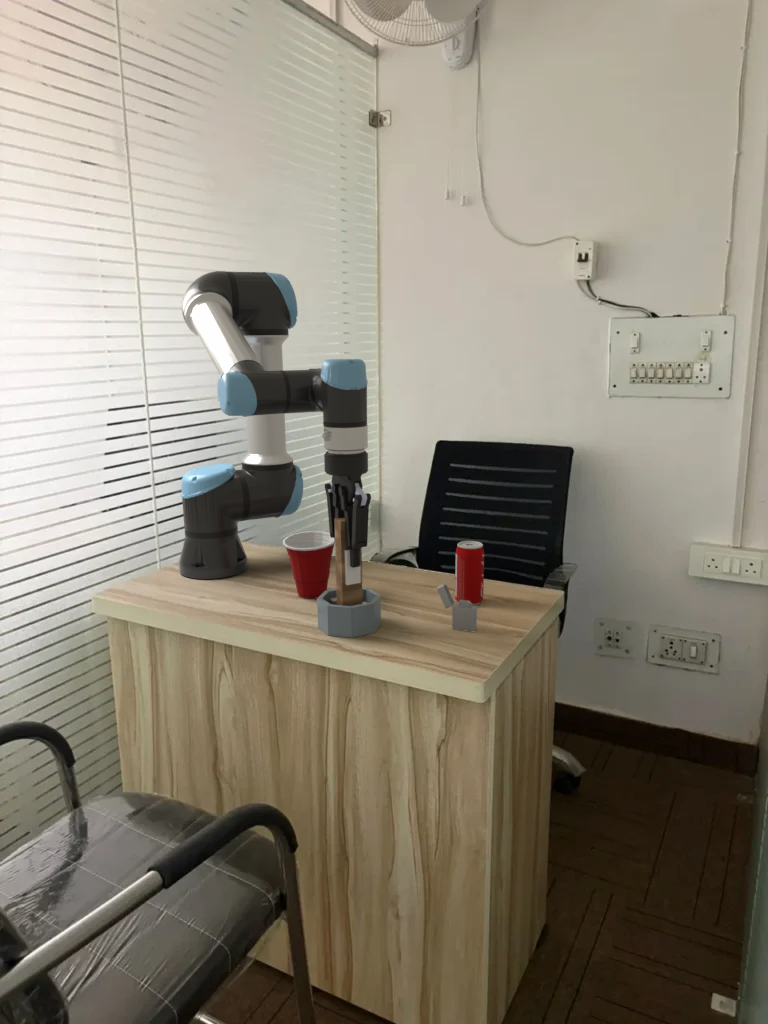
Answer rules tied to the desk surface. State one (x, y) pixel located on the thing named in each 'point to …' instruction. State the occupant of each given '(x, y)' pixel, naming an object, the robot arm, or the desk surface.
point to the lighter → (459, 610)
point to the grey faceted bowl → (349, 615)
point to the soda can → (469, 572)
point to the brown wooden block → (343, 591)
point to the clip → (334, 602)
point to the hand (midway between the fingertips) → (349, 580)
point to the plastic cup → (310, 561)
